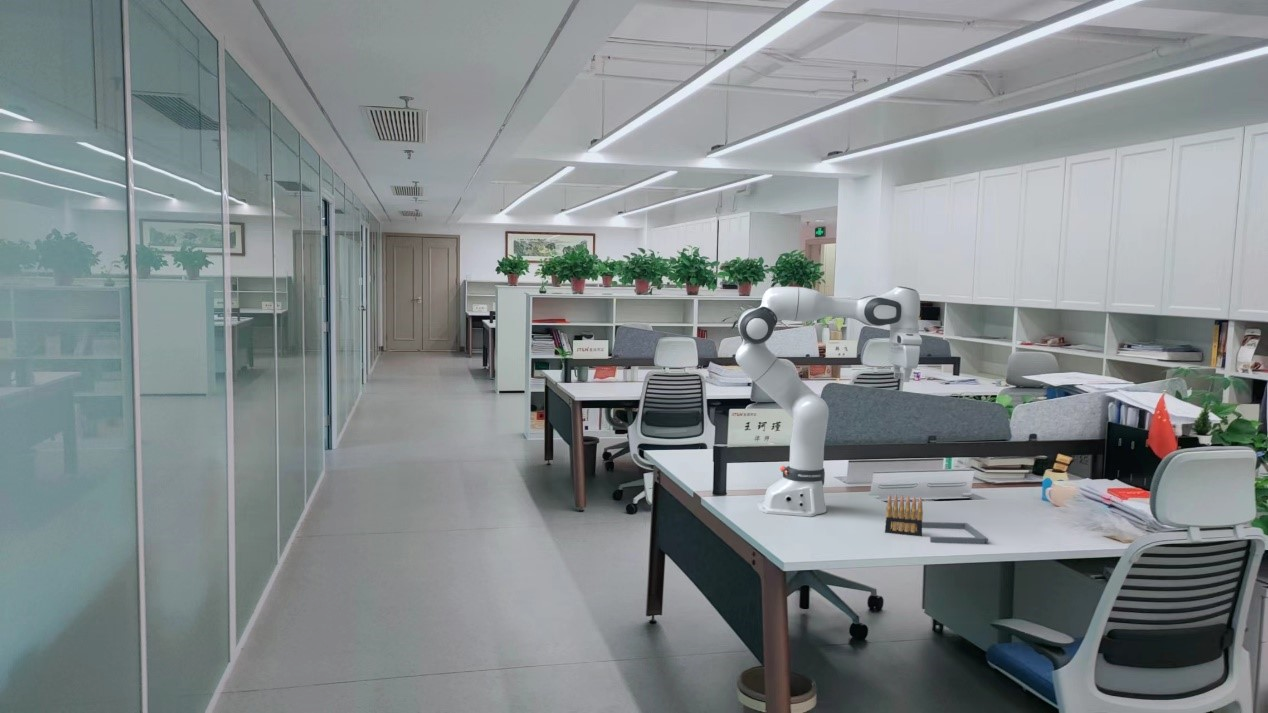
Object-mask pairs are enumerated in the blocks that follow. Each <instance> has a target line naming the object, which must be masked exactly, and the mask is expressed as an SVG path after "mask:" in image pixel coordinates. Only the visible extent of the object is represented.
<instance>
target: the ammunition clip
mask: <svg viewBox="0 0 1268 713" xmlns="http://www.w3.org/2000/svg"><path fill="white" fill-rule="evenodd" d="M904 498H905V497H904V496H903V495H901V496H900V499H899V500H898V495H897V494H895V496H894V498H893V500H892V495H891V494H890V493H889V494H888V497H887V503H886V510H885V529H884V533H885V534H893V535H897V534H898V535H906V536H913V537H923V528H922V522H923V516H924V515H923V513H924V511H923V499H922V496H920V497H919V499H918V503H917V499H916V496H913V498H912V502H911V499H910V495H907V497H906V499H904ZM892 501H893V502H892ZM905 501H906V502H905ZM892 503H893V504H892Z"/></svg>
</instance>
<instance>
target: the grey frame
mask: <svg viewBox="0 0 1268 713" xmlns="http://www.w3.org/2000/svg"><path fill="white" fill-rule="evenodd" d="M922 529H944V530H945V529H949V530H950V529H951V530H965V531H966V532H968V533H969V534H970V535H972V536H973V537H969V536H968V537H967V536H939V535H938V536H937V535H936V536H933V535H932V536H929V542H930V543H931V544H932V543H935V544H937V543H938V544H963V545H964V544H965V545H966V544H967V545H968V544H969V545H970V544H971V545H988V544H989V538H988V537H987V536H986V535H984V534H982V533H981V532H980V531H978V530H977V529H976V528H975V527H973V526H971V524H969V523H968V522H953V521H952V522H951V521H950V522H949V521H946V522H945V521H943V522H942V521H941V522H940V521H935V522H934V521H922Z"/></svg>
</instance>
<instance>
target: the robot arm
mask: <svg viewBox="0 0 1268 713" xmlns="http://www.w3.org/2000/svg"><path fill="white" fill-rule="evenodd" d="M920 314H921V298H920V293H919V292H918V291H917V289H913V288H911V287H906V286H898V285H897V286H895V287H894V288H893V289H891V290H889V291H887V292H885V293H881V294H878V295H867V296H864V297H861V298H859V299H851V298H838V297H831V296H828V295H826V294H824V293H822V292H820V291H819V290H817V289H816V290H815V289H812V288H807V287H801V286H775V287H770V288H767V289H766V290H765V292H764V293H763V295H762V298H761V303H760V306H758V307H750V308H748V309H746V310H744V311H742V313H741V314H740V315H739V317H738V320H737V329H738V332H739V335H740V338H741V341H742V343H741V345H740V346H739V347H738V349H737V350H736V353H735V361H736V363H737V365H738V366H739V367H740V369H741V371H743V372H744V374H746V376H747V377H749V379H751V381H753V383H754V384H755V385H757V387H758V388H760V389H761V390H762V391H763V392H764V393H766V395H768V396H769V398H771V399H772V400H773V401H774V402H775V403H776V404H777V405H778V406H779V407H780V408H782V409H783V410H784V411H785V412H786V413H787V414H788V415H789V416H790V417H792V419H793V420H792V432H791V438H790V442H789V460H788V461H789V463H788V464H789V465H787V466H785V465H781V466H780V468H779V470H780V471H781V472H782V477H781V478H780V479H778V480H776V482H773V483H772V484H771V485H770V486H768V487H767V489H766V491H765V495H764V499H763V500H762V499H761V500H760V501H758V502H757V508H758V510H759V511H761V512H762V513H765V514H770V515H773V514H774V515H783V516H785V515H786V516H796V517H797V516H798V517H799V516H801V517H813V516H814V517H815V516H817V515H820V514H824V513H826V512H827V507H826V501H825V494H824V485H825V478H826V476H825V475H826V472H825V468H824V462H825V461H824V459H825V457H824V456H825V443H826V442H825V441H826V436H827V431H828V430H827V429H828V423H829V416H830V415H829V414H830V412H829V411H830V410H829V406H828V404H827V402H826V400H824V399H823V398H822V397H820V395H819V394H817V393H815V391H813V390H812V389H811V388H810V387H809V385H807V384H806V383H805V382H804V381H803V380H801V378H800V377H799V376H798V375H797V374H795V372H793V370H791V369H790V368H789V367H788V366H787V365H785V363H784V362H782V361H781V360H780V359H779V358H778V357H777V356H776V355H775V354H774V353H773V352H771V351H770V349H769V348H768V346H767V345H766V342H767V341H768V340H769V339H770V338H771V336H772V335H773V333H774V331H775V327H776V326H777V323H778V322H779V321H792V322H812V321H813V322H814V321H818V320H821V319H822V318H828V317H831V318H832V317H833V318H843V319H854V320H856V321H859V322H860V323H861V324H864V325H866V326H873V327H884V326H887V325H889V326H890V328H889V344H890V345H889V352H888V363H889V364H891V365H893V366H892V369H893V378H894V379H895V380H900V379H901V378H902V382H904V383H909V382H910V380H911V379H910V378H911V374H912V371H913V369H917V368H918V365H919V362H920V361H919V360H920V353H921V347H920V346H921V345H922V344H923V339H922V337H921V335H920V333H919V332H920V326H919V320H920V319H919V318H920ZM901 368H903V375H901V374H902V372H901Z"/></svg>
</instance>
